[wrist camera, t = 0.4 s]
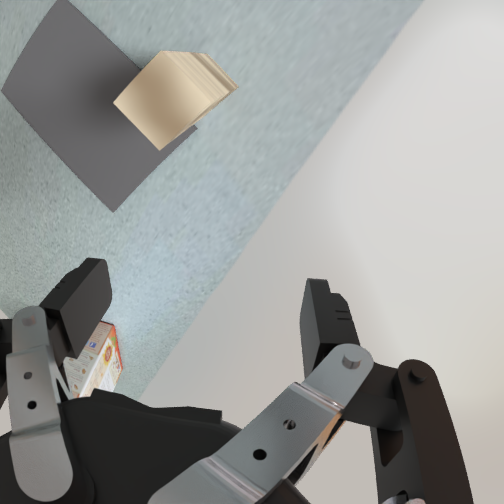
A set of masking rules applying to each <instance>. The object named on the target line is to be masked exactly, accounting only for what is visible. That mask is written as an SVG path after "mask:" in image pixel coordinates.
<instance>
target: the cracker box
mask: <svg viewBox="0 0 504 504" xmlns="http://www.w3.org/2000/svg"><path fill="white" fill-rule="evenodd" d="M64 363H65V366H66V369H67V374H68V378H69V382H70V385H71V389H72V393H73V396H74V398H78V397H87V396H90V395H91V393H92V391H93V389H94V388H97V389H101V390H105V391H110V392H113V390H114V388H115V385H116V383H117V381H118V378H119V376H120V374H121V371H122V369H123V367H122V363H121V358H120V353H119V348H118V342H117V337H116V331H115V326H114V325H111V324H107V323H104V322H101V321H100V322H99V324H98V325H97V327H96V329H95V330H94V332H93V334H92V335H91V337H90V339H89V340H88V342H87V344H86V345H85V347H84V349H83V350H82V352H81V354H80V355H79V357H78V359H73V358H69V357H66V358H65V359H64Z"/></svg>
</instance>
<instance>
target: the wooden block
mask: <svg viewBox="0 0 504 504" xmlns="http://www.w3.org/2000/svg"><path fill="white" fill-rule="evenodd" d="M238 87H239V86H238V85H237V84H236V83H235V82H234V81H233V80H232V79H231V78H230V77H229V76H228V75H227V74H226V73H225V71H224V70H223V69H222V68H221V67H220V66H219V65H218V64H217V63H216V62H215V61H214V60H213V59H212V58H211V57H210V56H209V55H208V54H202V53H191V52H177V51H160V52H159V53H158V54H157V55H156V56H155V57H154V58H153V59H152V60H151V61H150V62H149V63H148V64H147V65H146V66H145V67H144V69H143V70H142V71H141V72H140V73H139V74H138V75H137V76H136V77H135V78H134V79H133V80H132V82H131V83H130V84H129V85H128V86H127V87H126V88H125V89H124V91H123V92H122V93H121V94H120V95H119V96H118V97H117V99H116V100H115V101H114V102H113V103H114V104H115V105H116V106H117V107H118V108H119V109H120V110H121V112H122V113H123V114H124V115H125V116H126V117H127V118H128V119H129V120H130V121H131V122H132V123H133V124H134V125H135V126H136V127H137V128H138V129H139V130H140V131H141V132H142V133H143V134H144V135H145V136H146V137H147V138H148V139H149V140H150V141H151V142H152V144H153V145H154V146H155V147H156V148H157V149H158V150H159V151H160V150H161V149H162V148H164V147H165V146H166V145H167V144H169V143H170V142H171V141H172V140H174V139H175V138H176V137H178V136H179V135H180V134H181V133H183V132H184V131H185V130H187V129H188V128H189V127H191V126H192V125H193V124H195V123H196V122H197V121H199V120H200V119H201V118H203V117H204V116H205V115H206V114H208V113H209V112H210V111H211V110H212V109H213V108H214V107H216V106H217V105H218V104H219V103H220V102H221V101H223V100H224V99H225V98H226V97H227V96H228V95H230V94H231V93H232V92H233V91H234V90H236V89H237V88H238Z"/></svg>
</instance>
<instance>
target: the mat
mask: <svg viewBox="0 0 504 504" xmlns="http://www.w3.org/2000/svg"><path fill="white" fill-rule="evenodd" d="M140 72H141V70H140V69H139V68H138V67H137V66H136V65H135V64H134V63H133V62H132V61H131V60H130V59H129V58H128V57H127V56H126V55H125V54H124V53H123V52H122V51H121V50H120V49H119V48H118V47H117V46H116V45H115V44H114V43H113V42H112V41H111V40H109V39H108V38H107V37H106V36H105V35H104V34H103V33H102V32H101V31H100V30H99V29H98V28H97V27H96V26H95V25H94V24H93V23H92V22H91V21H90V20H88V19H87V18H86V17H85V16H84V15H83V14H82V13H81V12H80V11H79V10H78V9H77V8H76V7H74V6H73V5H72V4H71V3H70V2H69V1H68V0H57V1H56V2H55V4H54V5H53V6H52V8H51V9H50V10H49V12H48V13H47V15H46V16H45V17H44V19H43V20H42V22H41V23H40V25H39V26H38V28H37V29H36V31H35V32H34V34H33V35H32V37H31V38H30V40H29V41H28V43H27V45H26V46H25V48H24V50H23V51H22V53H21V55H20V56H19V58H18V60H17V61H16V63H15V65H14V67H13V69H12V70H11V72H10V74H9V76H8V78H7V80H6V82H5V84H4V86H3V88H2V90H1V91H2V92H3V94H4V95H5V96H6V97H7V98H8V100H9V101H10V102H11V103H12V104H13V106H14V107H15V108H16V109H17V110H18V111H19V113H20V114H21V115H22V116H23V117H24V118H25V120H26V121H27V122H28V123H29V124H30V125H31V126H32V128H33V129H34V130H35V131H36V132H37V133H38V134H39V135H40V137H41V138H42V139H43V140H44V141H45V142H46V143H47V144H48V145H49V146H50V148H51V149H52V150H53V151H54V152H55V153H56V154H57V155H58V156H59V157H60V158H61V159H62V161H63V162H64V163H65V164H66V165H67V166H68V167H69V168H70V169H71V170H72V171H73V172H74V173H75V174H76V175H77V176H78V177H79V179H80V180H81V181H82V182H83V183H84V184H85V185H86V186H87V187H88V188H89V189H90V190H91V191H92V192H93V193H94V194H95V195H96V196H97V197H98V198H99V199H100V200H101V201H102V202H103V203H104V204H105V205H106V206H107V207H108V208H109V209H110V210H111V211H112V212H113V213H114V211H115V210H116V209H117V208H118V207H119V206H120V205H121V204H122V203H123V202H124V201H125V199H126V198H127V197H128V196H129V195H130V194H131V193H132V192H133V191H134V190H135V189H136V188H137V187H138V186H139V185H140V184H141V183H142V182H143V180H144V179H145V178H146V177H147V176H148V175H149V174H150V173H151V172H152V171H153V170H154V169H155V168H156V167H157V166H158V165H159V164H160V163H161V162H162V161H163V160H164V159H165V158H166V157H167V156H169V155H170V154H171V153H172V152H173V151H174V150H175V149H176V148H177V147H178V146H179V145H180V144H181V143H182V142H183V141H184V140H185V139H186V138H188V137H189V136H190V135H191V134H192V133H193V132H194V131H195V130H196V129H197V128H196V126H195V125H194V124H193V125H192V126H191V127H189V128H188V129H187V130H185V131H184V132H183V133H181V134H180V135H179V136H178V137H176V138H175V139H174V140H172V141H171V142H170V143H169V144H167V145H166V146H165V147H164V148H162V149H161V150H160V151H159V150H158V149H157V148H156V147H155V146H154V145H153V144H152V142H151V141H150V140H149V139H148V138H147V137H146V136H145V135H144V134H143V133H142V132H141V131H140V130H139V129H138V128H137V127H136V126H135V125H134V124H133V123H132V122H131V121H130V120H129V119H128V118H127V117H126V116H125V115H124V114H123V113H122V112H121V110H120V109H119V108H118V107H117V106H116V105H115V104H114V103H113V102H114V101H115V100H116V99H117V97H118V96H119V95H120V94H121V93H122V92H123V91H124V89H125V88H126V87H127V86H128V85H129V84H130V83H131V82H132V80H133V79H134V78H135V77H136V76H137V75H138V74H139V73H140Z"/></svg>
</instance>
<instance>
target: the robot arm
mask: <svg viewBox="0 0 504 504" xmlns="http://www.w3.org/2000/svg"><path fill="white" fill-rule="evenodd" d="M111 300H112V289H111V284H110V278H109V272H108V266H107V262H106V261H105V260H104V259H97V258H87V259H85V261H84V262H83V263H82V264H81V265H80V266H79V267H78V268H75V269H74V270H72V271H70V272H69V273H67V274H66V275H65V276H64V277H63V278H62V279H61V280H60V282H59V283H58V284H57V285H56V286H55V288H53V289H52V291H51V292H50V293H49V294H48V295H47V296H46V298H45V299H44V300H43V301H42V302H41V303H40V305H39V306H29V307H25V308H23V309H21V310H20V311H18V312H17V313H16V314H15V315H14V317H13V319H0V409H1V407H2V405H3V403H4V401H5V399H6V397H7V396H8V400H9V409H10V419H11V426H12V430H11V431H10V432H8V433H6V434H4V435H2V436H0V504H310V503H309V502H308V500H307V499H306V498H305V497H304V496H303V495H302V494H301V493H300V492H299V491H298V490H297V488H296V487H295V486H296V485H297V483H298V482H299V481H300V480H301V479H302V478H303V477H304V476H305V474H306V473H307V472H308V471H309V469H310V468H311V467H312V465H313V464H314V462H315V461H316V460H317V458H318V457H319V456H320V454H321V453H322V451H323V450H324V449H325V448H326V447H327V445H328V444H329V443H330V441H331V440H332V439H333V438H334V436H335V435H336V434H337V432H338V431H339V430H340V428H341V427H342V425H343V424H344V423H345V422H346V421H351V422H354V423H358V424H362V425H367V426H370V431H371V438H372V445H373V453H374V463H375V472H376V482H377V492H378V504H474V503H473V498H472V493H471V489H470V484H469V480H468V476H467V472H466V468H465V464H464V461H463V456H462V453H461V449H460V446H459V442H458V439H457V436H456V432H455V429H454V426H453V422H452V419H451V416H450V413H449V410H448V407H447V404H446V401H445V398H444V395H443V392H442V389H441V387H440V384H439V381H438V379H437V376H436V374H435V371H434V370H433V369H432V368H431V367H430V366H429V365H428V364H426V363H424V362H422V361H420V360H414V359H411V360H406V361H404V362H402V363H401V364H400V365H399V367H398V369H396V368H392V367H388V366H384V365H380V364H377V363H375V362H374V361H373V358H372V356H371V354H370V353H369V352H368V351H367V350H366V349H364V348H362V347H361V346H360V343H359V339H358V336H357V332H356V329H355V326H354V323H353V320H352V316H351V314H350V310H349V306H348V303H347V302H346V301H345V299H344V298H343V297H342V296H341V295H340V294H338V293H331V292H330V288H329V285H328V281H327V280H324V279H310V278H308V279H307V281H306V286H305V292H304V297H303V302H302V308H301V313H300V333H301V344H302V354H303V364H304V375H305V380H304V381H303V382H302V383H301V384H298V383H297V382H294V383H292V384H291V385H290V386H288V387H287V389H285V390H284V391H283V392H282V393H281V394H280V395H279V396H278V397H277V398H276V399H275V400H274V401H273V402H272V403H271V404H270V405H269V406H268V407H267V408H266V409H264V410H263V411H262V412H261V413H260V414H259V415H258V416H257V417H256V418H255V419H254V420H252V421H251V422H250V423H249V424H248V425H247V426H246V427H245V428H244V429H241V428H239V427H237V426H235V425H233V424H230V423H228V422H225V421H223V420H222V411H220V410H212V409H203V408H196V407H189V406H187V407H167V408H152V407H149V406H146V405H144V404H142V403H140V402H137V401H135V400H133V399H131V398H129V397H127V396H125V395H123V394H118V393H114V392H110V391H105V390H101V389H97V388H94V389H93V391H92V393H91V395H90V396H87V397H78V398H74V396H73V393H72V389H71V385H70V382H69V378H68V374H67V369H66V366H65V363H64V359H65V358H66V357H69V358H73V359H78V357H79V355H80V354H81V352H82V350H83V349H84V347H85V345H86V344H87V342H88V340H89V339H90V337H91V335H92V334H93V332H94V330H95V329H96V327H97V325H98V324H99V322H100V321H101V319H102V317H103V316H104V314H105V313H106V311H107V309H108V308H109V306H110V304H111Z"/></svg>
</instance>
